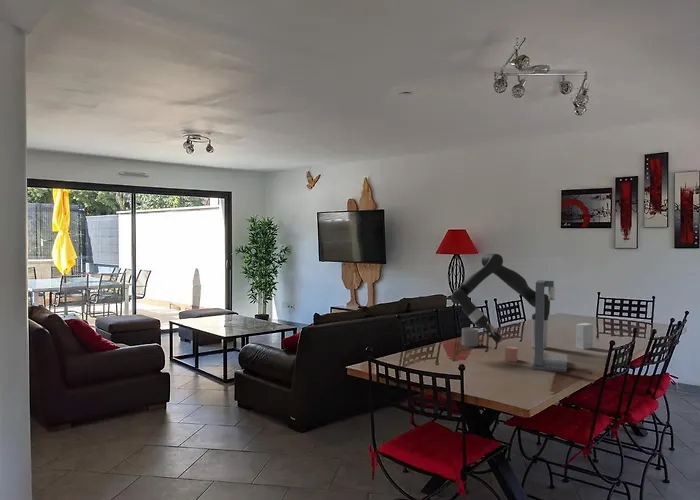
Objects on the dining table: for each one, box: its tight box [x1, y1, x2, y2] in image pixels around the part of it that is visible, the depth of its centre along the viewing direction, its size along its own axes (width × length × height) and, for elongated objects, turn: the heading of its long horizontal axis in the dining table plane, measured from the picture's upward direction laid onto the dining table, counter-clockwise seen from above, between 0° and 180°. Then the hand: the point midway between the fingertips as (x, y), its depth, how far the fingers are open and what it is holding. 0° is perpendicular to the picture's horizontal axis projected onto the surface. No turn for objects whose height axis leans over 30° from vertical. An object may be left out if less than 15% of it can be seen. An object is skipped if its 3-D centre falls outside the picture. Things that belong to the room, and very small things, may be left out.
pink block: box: [504, 345, 519, 363], centre depth 284 cm, size 6×6×7 cm
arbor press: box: [531, 279, 568, 373], centre depth 272 cm, size 24×16×44 cm, turn 157°
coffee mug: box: [461, 327, 479, 348], centre depth 326 cm, size 13×10×10 cm
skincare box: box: [575, 322, 594, 350], centre depth 316 cm, size 8×6×15 cm
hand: (499, 340), depth 286 cm, fingers open, 8 cm apart
